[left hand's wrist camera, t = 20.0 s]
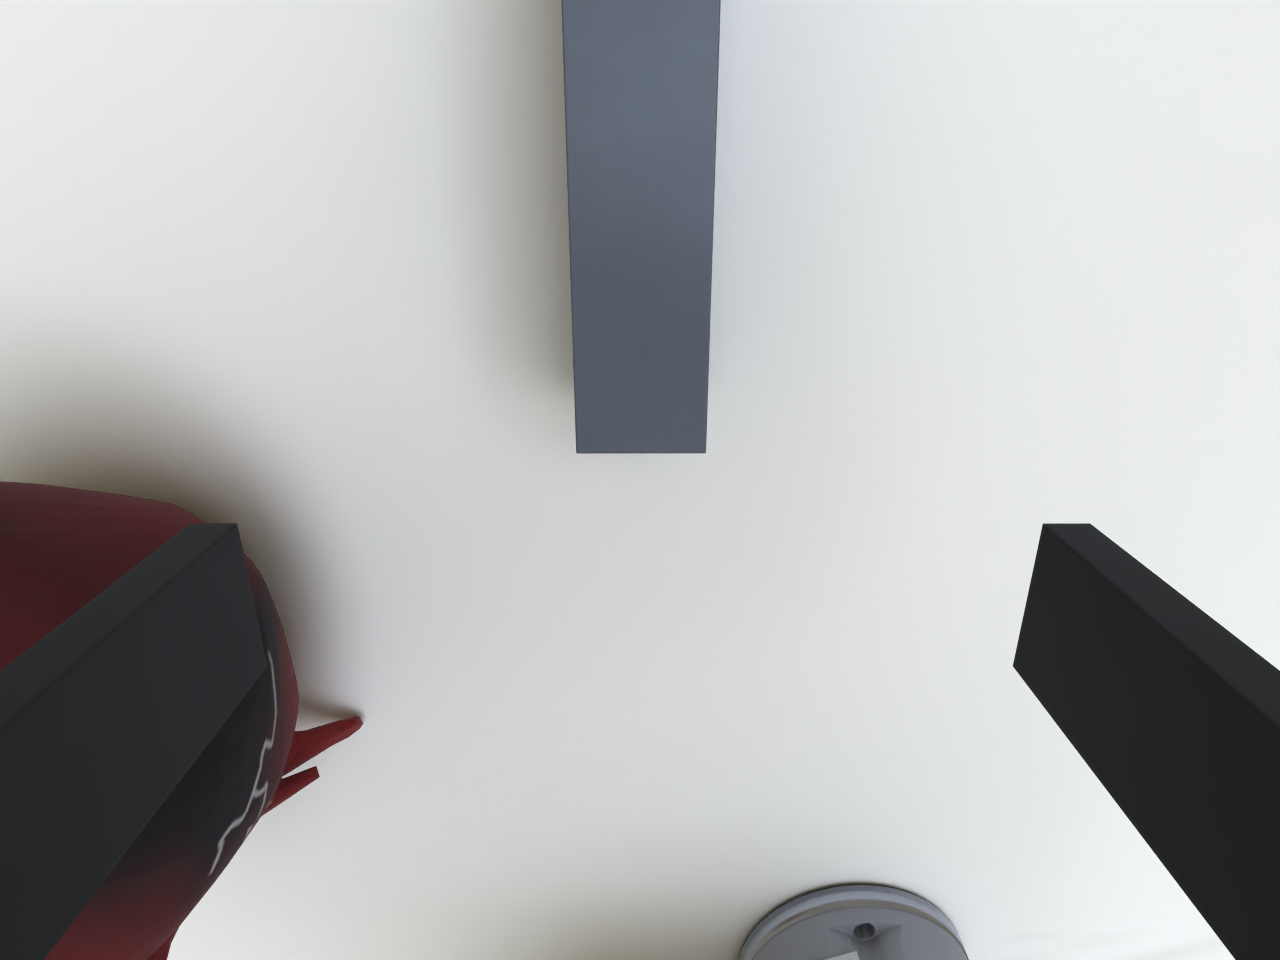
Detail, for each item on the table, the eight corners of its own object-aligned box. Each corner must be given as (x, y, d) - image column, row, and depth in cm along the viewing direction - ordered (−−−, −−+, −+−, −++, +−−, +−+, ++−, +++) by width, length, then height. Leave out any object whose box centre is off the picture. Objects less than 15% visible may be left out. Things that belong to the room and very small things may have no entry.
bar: (692, 395, 38) (705, 453, 30) (589, 395, 38) (576, 453, 30) (710, -340, 28) (738, -542, 20) (570, -339, 28) (543, -542, 20)
